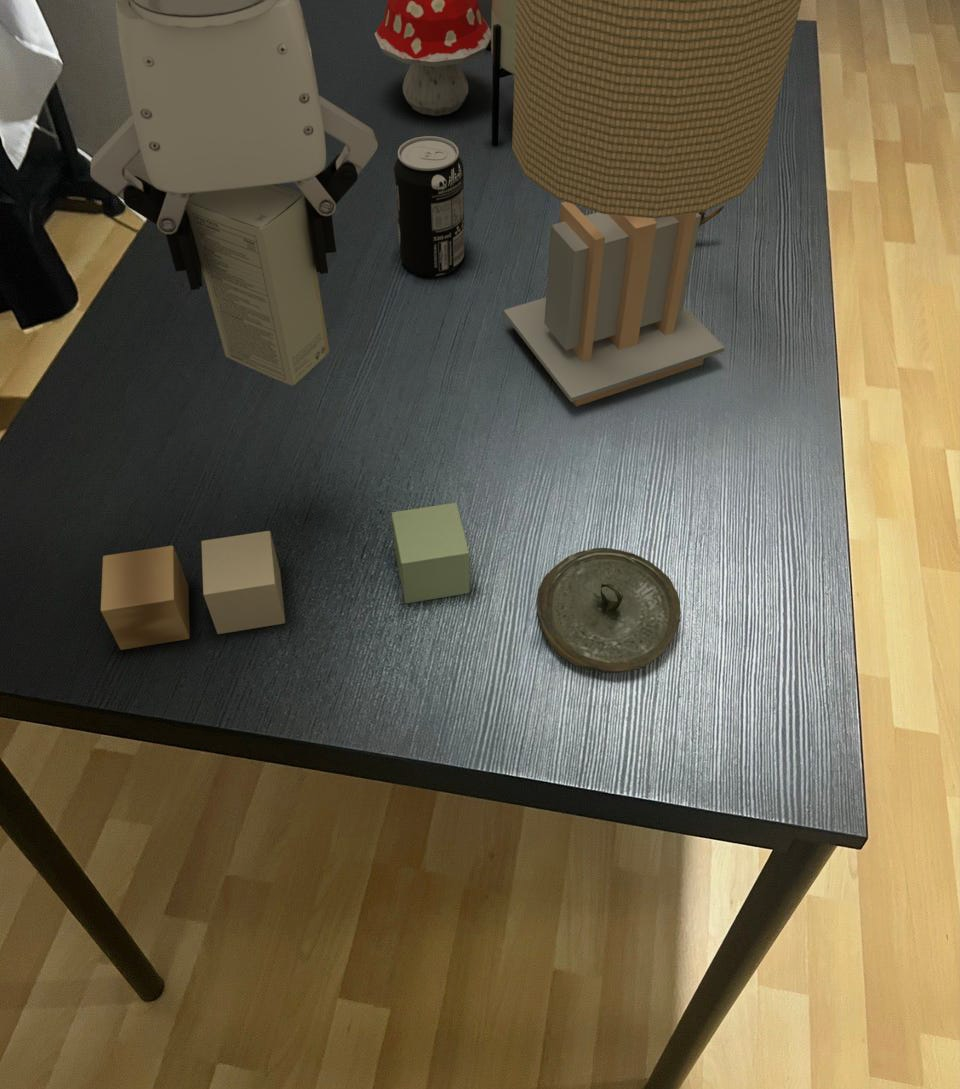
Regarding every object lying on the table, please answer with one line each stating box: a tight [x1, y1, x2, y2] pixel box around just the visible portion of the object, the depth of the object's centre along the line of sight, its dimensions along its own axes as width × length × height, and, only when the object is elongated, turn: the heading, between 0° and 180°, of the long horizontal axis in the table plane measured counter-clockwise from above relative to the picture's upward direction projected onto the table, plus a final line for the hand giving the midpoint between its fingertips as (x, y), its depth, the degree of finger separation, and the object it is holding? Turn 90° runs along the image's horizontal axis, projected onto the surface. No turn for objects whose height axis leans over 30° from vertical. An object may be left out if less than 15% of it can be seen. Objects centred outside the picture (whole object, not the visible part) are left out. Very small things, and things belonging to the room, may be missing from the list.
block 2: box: [200, 530, 286, 635], centre depth 73 cm, size 5×5×5 cm
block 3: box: [390, 502, 471, 604], centre depth 75 cm, size 5×5×5 cm
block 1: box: [100, 545, 191, 651], centre depth 73 cm, size 5×5×5 cm
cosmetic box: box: [185, 184, 330, 387], centre depth 64 cm, size 6×4×12 cm
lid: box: [535, 547, 682, 674], centre depth 73 cm, size 11×10×5 cm
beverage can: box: [393, 135, 465, 277], centre depth 98 cm, size 7×7×12 cm
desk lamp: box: [502, 0, 802, 407], centre depth 80 cm, size 20×20×35 cm
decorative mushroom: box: [374, 0, 491, 117], centre depth 117 cm, size 14×14×15 cm
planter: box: [490, 0, 517, 147], centre depth 110 cm, size 15×16×23 cm
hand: (258, 267), depth 63 cm, fingers closed on cosmetic box, 7 cm apart
